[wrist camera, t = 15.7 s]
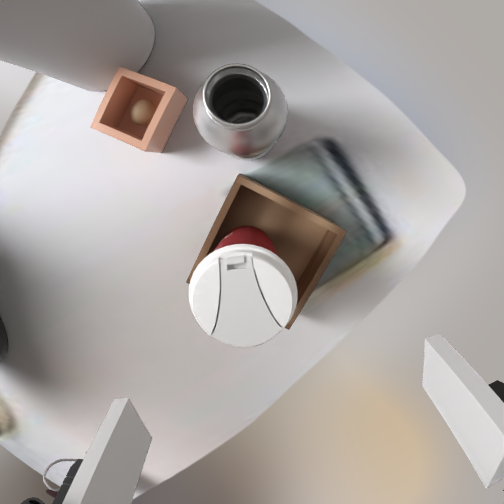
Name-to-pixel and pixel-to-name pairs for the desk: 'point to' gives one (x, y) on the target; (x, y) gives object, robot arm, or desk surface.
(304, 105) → the desk surface
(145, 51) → the cylinder vase
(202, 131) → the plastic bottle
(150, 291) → the desk surface
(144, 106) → the cork ball
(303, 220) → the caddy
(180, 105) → the planter
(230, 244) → the coffee cup
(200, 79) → the desk surface
